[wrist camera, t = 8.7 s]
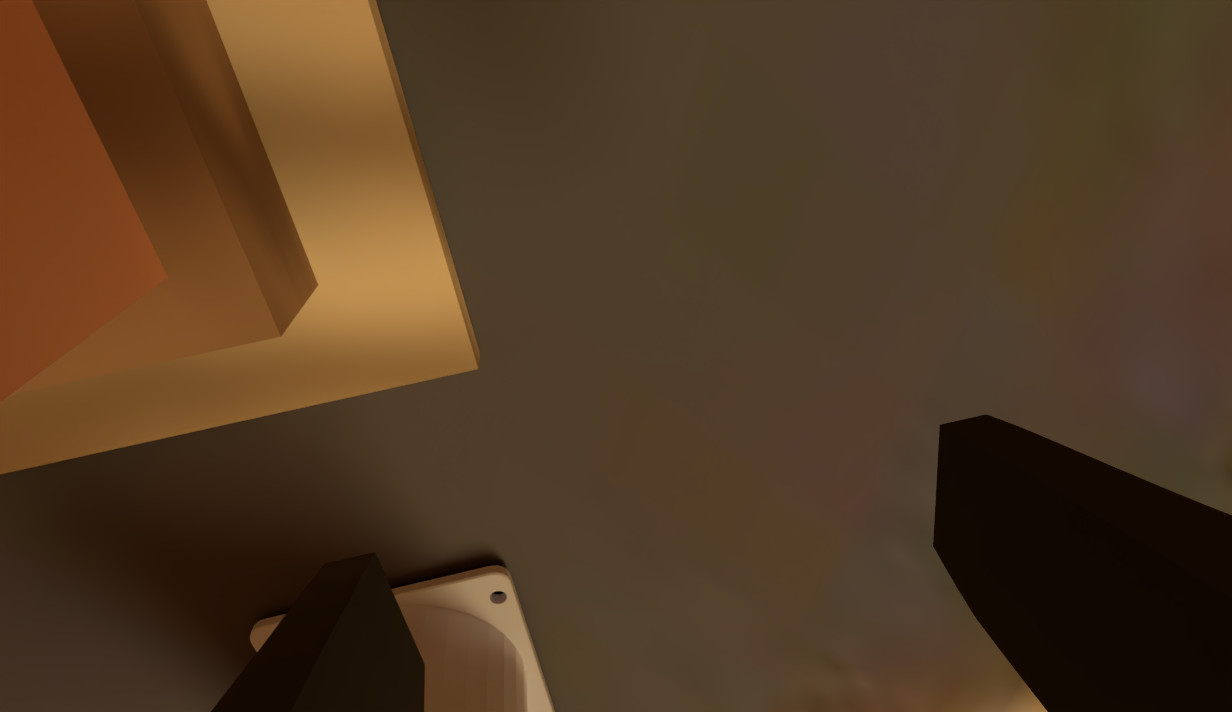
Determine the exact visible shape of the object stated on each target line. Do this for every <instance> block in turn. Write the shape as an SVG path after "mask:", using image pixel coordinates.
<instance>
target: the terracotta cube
mask: <svg viewBox="0 0 1232 712" xmlns="http://www.w3.org/2000/svg"><path fill="white" fill-rule="evenodd" d="M167 278H168V276H167V274H166V272H165V270H164V268H163V266H162V264H161V262H160V260H159V258H158V256H157V254H156V252H155V250H154V248H153V246H152V244H151V242H150V240H149V237H148V235H147V233H146V231H145V229H144V227H143V225H142V223H141V221H140V219H139V217H138V215H137V213H136V211H135V209H134V207H133V205H132V203H131V201H130V199H129V197H128V195H127V193H126V191H125V189H124V187H123V185H122V183H121V180H120V178H119V176H118V174H117V172H116V170H115V168H114V166H113V164H112V162H111V160H110V158H109V156H108V154H107V152H106V150H105V148H104V146H103V144H102V142H101V140H100V138H99V136H98V134H97V132H96V130H95V128H94V125H93V123H92V121H91V119H90V117H89V115H88V113H87V111H86V109H85V107H84V105H83V103H82V101H81V99H80V97H79V95H78V93H77V91H76V89H75V87H74V85H73V83H72V81H71V79H70V77H69V75H68V73H67V71H66V68H65V66H64V64H63V62H62V60H61V58H60V56H59V54H58V52H57V50H56V48H55V46H54V44H53V42H52V40H51V38H50V36H49V34H48V32H47V30H46V28H45V26H44V24H43V22H42V20H41V18H40V16H39V14H38V11H37V9H36V7H35V5H34V3H33V1H32V0H0V402H1V401H3V400H4V399H5V398H7V397H8V396H10V395H11V394H12V393H14V392H15V391H16V390H18V389H19V388H20V387H22V386H23V385H24V384H26V383H27V382H28V381H30V380H31V379H32V378H34V377H35V376H36V375H38V374H39V373H40V372H42V371H43V370H44V369H46V368H47V367H48V366H50V365H51V364H52V363H54V362H55V361H56V360H58V359H59V358H61V357H62V356H63V355H65V354H66V353H67V352H69V351H70V350H71V349H73V348H74V347H75V346H77V345H78V344H79V343H81V342H82V341H83V340H85V339H86V338H87V337H89V336H90V335H91V334H93V333H94V332H95V331H97V330H98V329H99V328H101V327H102V326H103V325H105V324H106V323H107V322H109V321H110V320H112V319H113V318H114V317H116V316H117V315H118V314H120V313H121V312H122V311H124V310H125V309H126V308H128V307H129V306H130V305H132V304H133V303H134V302H136V301H137V300H138V299H140V298H141V297H142V296H144V295H145V294H146V293H148V292H149V291H150V290H152V289H153V288H154V287H156V286H157V285H158V284H160V283H161V282H163V281H164V280H165V279H167Z"/></svg>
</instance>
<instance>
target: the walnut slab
mask: <svg viewBox="0 0 1232 712" xmlns="http://www.w3.org/2000/svg"><path fill="white" fill-rule="evenodd" d="M32 1H33V3H34V5H35V7H36V9H37V11H38V14H39V16H40V18H41V20H42V22H43V24H44V26H45V28H46V30H47V32H48V34H49V36H50V38H51V40H52V42H53V44H54V46H55V48H56V50H57V52H58V54H59V56H60V58H61V60H62V62H63V64H64V66H65V68H66V71H67V73H68V75H69V77H70V79H71V81H72V83H73V85H74V87H75V89H76V91H77V93H78V95H79V97H80V99H81V101H82V103H83V105H84V107H85V109H86V111H87V113H88V115H89V117H90V119H91V121H92V123H93V125H94V128H95V130H96V132H97V134H98V136H99V138H100V140H101V142H102V144H103V146H104V148H105V150H106V152H107V154H108V156H109V158H110V160H111V162H112V164H113V166H114V168H115V170H116V172H117V174H118V176H119V178H120V180H121V183H122V185H123V187H124V189H125V191H126V193H127V195H128V197H129V199H130V201H131V203H132V205H133V207H134V209H135V211H136V213H137V215H138V217H139V219H140V221H141V223H142V225H143V227H144V229H145V231H146V233H147V235H148V237H149V240H150V242H151V244H152V246H153V248H154V250H155V252H156V254H157V256H158V258H159V260H160V262H161V264H162V266H163V268H164V270H165V272H166V274H167V276H168V278H167V279H165V280H164V281H163V282H161V283H160V284H158V285H157V286H156V287H154V288H153V289H152V290H150V291H149V292H148V293H146V294H145V295H144V296H142V297H141V298H140V299H138V300H137V301H136V302H134V303H133V304H132V305H130V306H129V307H128V308H126V309H125V310H124V311H122V312H121V313H120V314H118V315H117V316H116V317H114V318H113V319H112V320H110V321H109V322H107V323H106V324H105V325H103V326H102V327H101V328H99V329H98V330H97V331H95V332H94V333H93V334H91V335H90V336H89V337H87V338H86V339H85V340H83V341H82V342H81V343H79V344H78V345H77V346H75V347H74V348H73V349H71V350H70V351H69V352H67V353H66V354H65V355H63V356H62V357H61V358H59V359H58V360H56V361H55V362H54V363H52V364H51V365H50V366H48V367H47V368H46V369H44V370H43V371H42V372H40V373H39V374H38V375H36V376H35V377H34V378H32V379H31V380H30V381H28V382H27V383H26V384H24V385H23V386H22V387H20V388H19V389H18V390H16V391H15V392H14V393H12V394H17V393H22V392H26V391H31V390H36V389H40V388H45V387H50V386H54V385H59V384H64V383H68V382H73V381H78V380H82V379H87V378H91V377H96V376H101V375H105V374H110V373H115V372H119V371H124V370H129V369H133V368H138V367H143V366H147V365H152V364H157V363H161V362H166V361H170V360H175V359H180V358H184V357H189V356H194V355H198V354H203V353H208V352H212V351H217V350H222V349H226V348H231V347H236V346H240V345H245V344H249V343H254V342H259V341H263V340H268V339H273V338H277V337H281V336H282V335H283V333H284V332H285V331H286V329H287V328H288V326H289V325H290V324H291V322H292V321H293V320H294V318H295V317H296V315H297V314H298V313H299V311H300V310H301V308H302V307H303V306H304V304H305V303H306V302H307V300H308V299H309V297H310V296H311V295H312V293H313V292H314V291H315V289H316V288H317V286H318V283H317V280H316V278H315V275H314V273H313V270H312V268H311V265H310V262H309V260H308V257H307V255H306V252H305V250H304V247H303V245H302V242H301V240H300V237H299V235H298V232H297V229H296V227H295V224H294V222H293V219H292V217H291V214H290V212H289V209H288V207H287V204H286V202H285V199H284V196H283V194H282V191H281V189H280V186H279V184H278V181H277V179H276V176H275V174H274V171H273V169H272V166H271V163H270V161H269V158H268V156H267V153H266V151H265V148H264V146H263V143H262V141H261V138H260V136H259V133H258V130H257V128H256V125H255V123H254V120H253V118H252V115H251V113H250V110H249V108H248V105H247V102H246V100H245V97H244V95H243V92H242V90H241V87H240V85H239V82H238V80H237V77H236V75H235V72H234V69H233V67H232V64H231V62H230V59H229V57H228V54H227V52H226V49H225V47H224V44H223V42H222V39H221V36H220V34H219V31H218V29H217V26H216V24H215V21H214V19H213V16H212V14H211V11H210V9H209V6H208V3H207V1H206V0H32ZM12 394H11V395H12Z"/></svg>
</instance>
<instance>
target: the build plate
mask: <svg viewBox="0 0 1232 712" xmlns="http://www.w3.org/2000/svg"><path fill="white" fill-rule="evenodd" d="M206 1H207V3H208V6H209V9H210V11H211V14H212V16H213V19H214V21H215V24H216V26H217V29H218V31H219V34H220V36H221V39H222V42H223V44H224V47H225V49H226V52H227V54H228V57H229V59H230V62H231V64H232V67H233V69H234V72H235V75H236V77H237V80H238V82H239V85H240V87H241V90H242V92H243V95H244V97H245V100H246V102H247V105H248V108H249V110H250V113H251V115H252V118H253V120H254V123H255V125H256V128H257V130H258V133H259V136H260V138H261V141H262V143H263V146H264V148H265V151H266V153H267V156H268V158H269V161H270V163H271V166H272V169H273V171H274V174H275V176H276V179H277V181H278V184H279V186H280V189H281V191H282V194H283V196H284V199H285V202H286V204H287V207H288V209H289V212H290V214H291V217H292V219H293V222H294V224H295V227H296V229H297V232H298V235H299V237H300V240H301V242H302V245H303V247H304V250H305V252H306V255H307V257H308V260H309V262H310V265H311V268H312V270H313V273H314V275H315V278H316V280H317V283H318V286H317V288H316V289H315V291H314V292H313V293H312V295H311V296H310V297H309V299H308V300H307V302H306V303H305V304H304V306H303V307H302V308H301V310H300V311H299V313H298V314H297V315H296V317H295V318H294V320H293V321H292V322H291V324H290V325H289V326H288V328H287V329H286V331H285V332H284V333H283V335H282V336H281V337H277V338H273V339H268V340H263V341H259V342H254V343H249V344H245V345H240V346H236V347H231V348H226V349H222V350H217V351H212V352H208V353H203V354H198V355H194V356H189V357H184V358H180V359H175V360H170V361H166V362H161V363H157V364H152V365H147V366H143V367H138V368H133V369H129V370H124V371H119V372H115V373H110V374H105V375H101V376H96V377H91V378H87V379H82V380H78V381H73V382H68V383H64V384H59V385H54V386H50V387H45V388H40V389H36V390H31V391H26V392H22V393H17V394H12V395H10V396H8V397H7V398H5V399H4V400H3V401H1V402H0V474H4V473H9V472H13V471H18V470H22V469H27V468H31V467H36V466H40V465H45V464H49V463H54V462H59V461H63V460H68V459H72V458H77V457H81V456H86V455H90V454H95V453H99V452H104V451H108V450H113V449H117V448H122V447H126V446H131V445H136V444H140V443H145V442H149V441H154V440H158V439H163V438H167V437H172V436H176V435H181V434H185V433H190V432H194V431H199V430H204V429H208V428H213V427H217V426H222V425H226V424H231V423H235V422H240V421H244V420H249V419H253V418H258V417H262V416H267V415H272V414H276V413H281V412H285V411H290V410H294V409H299V408H303V407H308V406H312V405H317V404H321V403H326V402H330V401H335V400H339V399H344V398H349V397H353V396H358V395H362V394H367V393H371V392H376V391H380V390H385V389H389V388H394V387H398V386H403V385H407V384H412V383H417V382H421V381H426V380H430V379H435V378H439V377H444V376H448V375H453V374H457V373H462V372H466V371H471V370H475V369H478V367H479V354H480V352H479V348H478V345H477V342H476V338H475V335H474V331H473V328H472V325H471V321H470V318H469V314H468V311H467V308H466V304H465V301H464V297H463V294H462V291H461V287H460V284H459V281H458V277H457V274H456V270H455V267H454V264H453V260H452V257H451V253H450V250H449V247H448V243H447V240H446V236H445V233H444V230H443V226H442V223H441V220H440V216H439V213H438V209H437V206H436V203H435V199H434V196H433V192H432V189H431V186H430V182H429V179H428V176H427V172H426V169H425V165H424V162H423V159H422V155H421V152H420V148H419V145H418V142H417V138H416V135H415V131H414V128H413V125H412V121H411V118H410V115H409V111H408V108H407V104H406V101H405V98H404V94H403V91H402V87H401V84H400V81H399V77H398V74H397V70H396V67H395V64H394V60H393V57H392V54H391V50H390V47H389V43H388V40H387V37H386V33H385V30H384V26H383V23H382V20H381V16H380V13H379V9H378V6H377V3H376V0H206Z"/></svg>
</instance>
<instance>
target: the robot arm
mask: <svg viewBox="0 0 1232 712" xmlns="http://www.w3.org/2000/svg"><path fill="white" fill-rule="evenodd" d="M933 547H934V548H935V550H936V552H937V554H938V555H939V557H940V559H941V561H942V562H943V564H944V566H945V568H946V569H947V571H948V573H949V574H950V576H951V578H952V580H953V581H954V583H955V585H956V587H957V588H958V590H959V591H960V593H961V595H962V596H963V598H964V600H965V601H966V603H967V604H968V606H969V608H970V609H971V611H972V612H973V614H974V616H975V617H976V619H977V620H978V621H979V623H980V624H981V625H982V627H983V628H984V629H985V631H986V632H987V633H988V635H989V636H990V637H991V639H992V640H993V641H994V643H995V644H996V645H997V647H998V648H999V649H1000V650H1001V652H1002V653H1003V654H1004V656H1005V657H1006V658H1007V660H1008V661H1009V662H1010V663H1011V665H1012V666H1013V667H1014V669H1015V670H1016V671H1017V673H1018V674H1019V675H1020V677H1021V678H1022V679H1023V680H1024V682H1025V683H1026V684H1027V686H1028V687H1029V688H1030V689H1031V691H1032V692H1033V693H1034V694H1035V696H1036V697H1037V698H1038V700H1039V701H1040V702H1041V703H1042V705H1043V706H1044V707H1045V709H1046V710H1047V711H1048V712H1232V515H1229V514H1227V513H1224V512H1222V511H1219V510H1216V509H1214V508H1211V507H1209V506H1206V505H1204V504H1201V503H1199V502H1197V501H1194V500H1192V499H1189V498H1187V497H1184V496H1182V495H1179V494H1177V493H1175V492H1172V491H1170V490H1167V489H1165V488H1162V487H1160V486H1158V485H1155V484H1153V483H1150V482H1148V481H1146V480H1143V479H1141V478H1139V477H1136V476H1134V475H1132V474H1129V473H1127V472H1124V471H1122V470H1120V469H1117V468H1115V467H1113V466H1110V465H1108V464H1106V463H1103V462H1101V461H1099V460H1096V459H1094V458H1092V457H1089V456H1087V455H1085V454H1082V453H1080V452H1078V451H1075V450H1073V449H1071V448H1068V447H1066V446H1064V445H1061V444H1059V443H1057V442H1054V441H1052V440H1050V439H1047V438H1045V437H1042V436H1040V435H1038V434H1035V433H1033V432H1030V431H1028V430H1026V429H1023V428H1021V427H1018V426H1016V425H1013V424H1011V423H1008V422H1005V421H1003V420H1000V419H997V418H995V417H992V416H989V415H982V416H977V417H973V418H969V419H964V420H960V421H955V422H951V423H946V424H942V425H940V433H939V451H938V470H937V488H936V506H935V524H934V542H933ZM496 591H502V592H504V593H502V594H497V595H496V594H494V593H493V592H496ZM249 638H250V642H251V644H252V645H253V647H254V649H255V650H256V652H257V653H256V655H255V656H254V657H253V658H252V660H251V661H250V662H249V664H248V665H247V666H246V667H245V669H244V670H243V671H242V673H241V674H240V675H239V676H238V678H237V679H236V680H235V682H234V683H233V684H232V685H231V687H230V688H229V689H228V691H227V692H226V693H225V694H224V696H223V697H222V698H221V700H220V701H219V702H218V703H217V705H216V706H215V707H214V709H213V710H212V711H211V712H555V710H554V707H553V704H552V701H551V698H550V695H549V691H548V688H547V685H546V682H545V679H544V676H543V673H542V670H541V667H540V664H539V661H538V658H537V655H536V652H535V648H534V645H533V642H532V639H531V636H530V633H529V630H528V627H527V624H526V621H525V618H524V615H523V612H522V609H521V605H520V602H519V599H518V596H517V593H516V590H515V587H514V584H513V581H512V578H511V575H510V573H509V571H508V570H507V569H506V568H504V567H502V566H498V565H494V566H487V567H483V568H479V569H475V570H470V571H466V572H462V573H458V574H453V575H449V576H445V577H441V578H436V579H432V580H428V581H424V582H419V583H415V584H411V585H407V586H402V587H398V588H394V589H391V587H390V585H389V583H388V580H387V578H386V576H385V574H384V571H383V569H382V567H381V565H380V562H379V560H378V558H377V556H376V553H375V552H374V553H370V554H366V555H361V556H357V557H352V558H348V559H343V560H339V561H334V562H330V563H326V564H325V565H324V566H323V567H322V569H321V570H320V571H319V572H318V574H317V575H316V576H315V577H314V578H313V580H312V581H311V582H310V584H309V585H308V586H307V587H306V589H305V590H304V591H303V593H302V594H301V595H300V597H299V598H298V599H297V600H296V602H295V603H294V604H293V606H292V607H291V608H290V610H289V611H288V612H287V614H283V615H279V616H275V617H271V618H266V619H263V620H260V621H258V622H257V623H256V624H255V625H254V627H253V629H252V631H251V634H250V637H249Z"/></svg>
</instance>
